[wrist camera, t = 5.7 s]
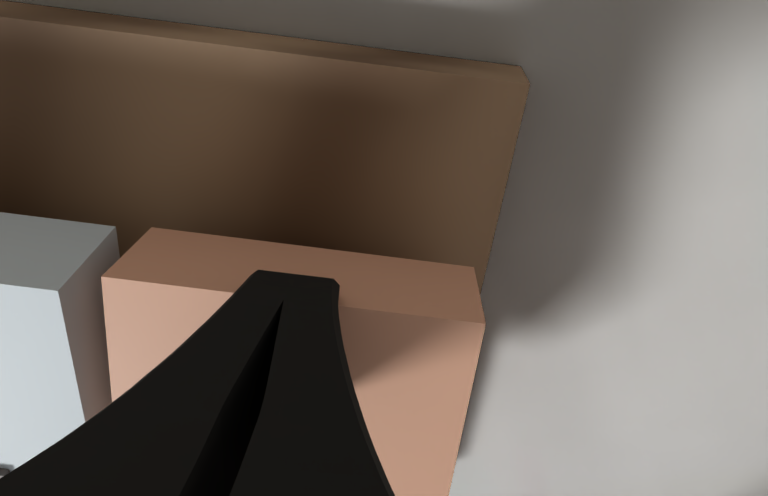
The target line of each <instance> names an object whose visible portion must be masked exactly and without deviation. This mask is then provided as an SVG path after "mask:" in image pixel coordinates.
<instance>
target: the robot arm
mask: <svg viewBox="0 0 768 496" xmlns="http://www.w3.org/2000/svg"><path fill="white" fill-rule="evenodd" d="M339 291H340V285H339V284H338V283H337V282H336V281H335V279H333V278H325V277H316V276H308V275H299V274H291V273H283V272H274V271H266V270H257V271H255V272H254V273H253V274H251V275H250V276H249V277H248V278H247V280H246V281H245V282H244V283H243V284H242V285H241V286H240V287H239V288H238V289H237V290H236V291H235V292H234V294H233V295H232V296H231V297H230V298H229V299H228V300H227V301H226V302H225V303H224V304H223V305H222V306H221V307H220V308H219V309H218V310H217V311H216V312H215V313H214V314H213V315H212V316H211V317H210V318H209V319H208V320H207V321H206V322H205V323H204V324H203V325H202V326H200V327H199V328H198V329H197V330H196V331H195V332H194V333H193V334H192V335H191V336H190V337H189V338H188V339H187V340H186V341H185V342H183V343H182V344H181V345H180V346H179V347H178V348H177V349H176V350H175V351H174V352H173V353H171V354H170V355H169V356H168V357H167V358H166V359H164V360H163V361H162V362H161V363H160V364H159V365H157V366H156V367H155V368H154V369H153V370H151V371H150V372H149V373H148V374H147V375H145V376H144V377H143V378H142V379H141V380H140V381H138V382H137V383H136V384H135V385H134V386H132V387H131V388H130V389H129V390H127V391H126V392H125V393H124V394H122V395H121V396H120V397H118V398H117V399H116V400H115V401H113V402H112V403H111V404H109V405H108V406H107V407H105V408H104V409H103V410H101V411H100V412H99V413H97V414H96V415H95V416H93V417H92V418H90V419H89V420H88V421H86V422H85V423H83V424H82V425H81V426H79V427H78V428H76V429H75V430H74V431H72V432H71V433H69V434H68V435H67V436H65V437H64V438H62V439H61V440H59V441H58V442H56V443H55V444H53V445H52V446H50V447H48V448H47V449H45V450H44V451H42V452H41V453H39V454H38V455H36V456H35V457H33V458H32V459H30V460H29V461H27V462H25V463H24V464H22V465H21V466H19V467H18V468H16V469H14V470H13V471H11V472H10V473H8V474H6V475H5V476H3V477H1V478H0V496H395V494H394V492H393V490H392V488H391V486H390V483H389V481H388V479H387V477H386V474H385V472H384V470H383V467H382V465H381V462H380V460H379V457H378V455H377V453H376V450H375V448H374V445H373V442H372V440H371V437H370V434H369V432H368V429H367V426H366V423H365V421H364V417H363V414H362V411H361V408H360V405H359V402H358V399H357V396H356V393H355V389H354V386H353V382H352V379H351V375H350V370H349V366H348V362H347V358H346V354H345V350H344V345H343V340H342V334H341V327H340V320H339V309H338V300H339Z"/></svg>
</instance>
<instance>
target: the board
mask: <svg viewBox="0 0 768 496" xmlns="http://www.w3.org/2000/svg"><path fill="white" fill-rule="evenodd" d="M529 87H530V83H529V81H528V79H527V77H526V75H525V73H524V71H523V69H522V68H521V66H514V65H506V64H498V63H490V62H482V61H474V60H466V59H459V58H451V57H443V56H435V55H427V54H419V53H411V52H403V51H396V50H388V49H380V48H372V47H364V46H356V45H348V44H341V43H333V42H325V41H317V40H309V39H301V38H293V37H286V36H278V35H270V34H262V33H254V32H246V31H238V30H230V29H223V28H215V27H207V26H199V25H191V24H183V23H175V22H168V21H160V20H152V19H144V18H136V17H128V16H120V15H113V14H105V13H97V12H89V11H81V10H73V9H65V8H57V7H50V6H42V5H34V4H26V3H18V2H10V1H2V0H0V212H3V213H11V214H19V215H27V216H36V217H44V218H52V219H60V220H68V221H76V222H84V223H92V224H100V225H108V226H116V232H117V240H118V247H119V254H120V258H121V257H122V256H123V255H124V254H125V253H126V252H127V251H128V250H129V249H130V248H131V247H132V246H133V245H134V244H135V243H136V242H137V241H138V240H139V239H140V238H141V237H142V236H143V235H144V234H145V233H146V232H147V231H148V230H149V229H150V228H151V227H154V228H162V229H170V230H178V231H186V232H195V233H203V234H211V235H219V236H227V237H235V238H243V239H251V240H259V241H267V242H275V243H283V244H291V245H300V246H308V247H316V248H324V249H332V250H340V251H348V252H356V253H364V254H372V255H380V256H388V257H396V258H405V259H413V260H421V261H429V262H437V263H445V264H453V265H461V266H469V267H474V269H475V274H476V279H477V284H478V288H479V293H481V289H482V285H483V280H484V276H485V272H486V268H487V264H488V259H489V255H490V251H491V247H492V243H493V238H494V234H495V230H496V226H497V222H498V217H499V213H500V209H501V205H502V201H503V196H504V192H505V188H506V184H507V180H508V175H509V171H510V167H511V163H512V159H513V154H514V150H515V146H516V142H517V138H518V133H519V129H520V125H521V121H522V117H523V112H524V108H525V104H526V100H527V96H528V91H529Z"/></svg>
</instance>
